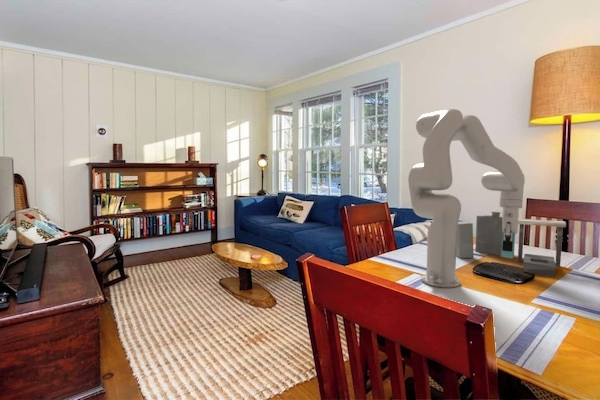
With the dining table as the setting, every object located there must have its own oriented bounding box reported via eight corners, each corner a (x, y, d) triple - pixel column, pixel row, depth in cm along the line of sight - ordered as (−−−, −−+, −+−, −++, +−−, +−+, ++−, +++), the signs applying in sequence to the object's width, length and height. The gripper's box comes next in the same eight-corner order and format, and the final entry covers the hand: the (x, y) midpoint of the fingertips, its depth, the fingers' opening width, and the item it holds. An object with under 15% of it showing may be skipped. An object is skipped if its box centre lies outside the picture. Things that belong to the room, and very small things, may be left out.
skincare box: (473, 258, 152) (475, 223, 150) (457, 258, 152) (459, 223, 150) (465, 253, 160) (466, 220, 159) (449, 253, 160) (451, 220, 159)
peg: (512, 258, 131) (514, 232, 130) (500, 256, 133) (502, 231, 132) (513, 256, 134) (515, 231, 133) (501, 254, 137) (503, 230, 136)
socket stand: (565, 278, 124) (568, 228, 122) (513, 271, 133) (516, 224, 131) (562, 266, 139) (564, 221, 137) (515, 260, 148) (518, 218, 146)
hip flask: (513, 254, 158) (516, 212, 156) (514, 256, 154) (516, 213, 152) (475, 250, 166) (477, 210, 164) (475, 252, 162) (476, 211, 160)
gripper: (521, 205, 123) (518, 255, 125) (522, 203, 137) (519, 247, 138) (498, 204, 127) (494, 252, 129) (501, 201, 141) (498, 245, 143)
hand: (507, 249), depth 134 cm, fingers closed on peg, 4 cm apart
